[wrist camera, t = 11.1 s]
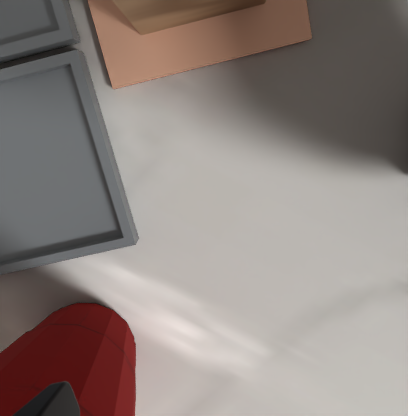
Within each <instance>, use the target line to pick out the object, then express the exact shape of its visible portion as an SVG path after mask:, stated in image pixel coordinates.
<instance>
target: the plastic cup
mask: <svg viewBox="0 0 408 416" xmlns="http://www.w3.org/2000/svg"><path fill="white" fill-rule="evenodd" d="M135 366H136V344H135V342H134V336H133V334H132V332H131V330H130V328H129V326H128V324H127V322H126V321H125V320H124V319H122V318H121V317H120V316H119V315H118V314H117V313H116V312H115V311H114V310H111V309H109V308H106V307H104V306H101V305H99V304H96V303H75V304H72V305H69V306H67V307H64V308H61V309H59V310H58V311H55V312H53V313H52V314H51V315H49V316H48V317H47V318H46V319H45V320H43V321H42V322H41V323H40V324H39V325H37V326H36V327H35V328H34V329H33V330H31V331H28V332H26V333H25V334H23V335H22V336H21V337H20V338H18V339H17V340H16V341H15V342H14V343H12V344H11V345H10V346H9V347H7V348H6V349H5V350H4V351H2V352H1V353H0V416H12V415H13V414H15V413H16V412H17V411H18V410H20V409H21V408H22V407H23V406H24V405H26V404H27V403H28V402H29V401H30V400H32V399H33V398H34V397H35V396H37V395H38V394H39V393H40V392H41V391H43V390H44V389H45V388H46V387H47V386H49V385H50V384H53V383H57V382H62V381H67V382H69V383H70V385H71V387H72V390H73V392H74V395H75V397H76V400H77V403H78V405H79V408H80V416H135V401H136V383H135Z"/></svg>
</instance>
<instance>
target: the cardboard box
mask: <svg viewBox="0 0 408 416" xmlns="http://www.w3.org/2000/svg"><path fill="white" fill-rule="evenodd" d="M112 1H113V2H114V3H115V4H116V6H117V7H118V8H119V9H120V10H121V12H122V13H123V14H124V15H125V16H126V18H127V19H128V20H129V21H130V22H131V24H132V25H133V26H134V27H135V28H136V30H137V31H138V32H139V33H140V34H141V35H145V34H149V33H153V32H157V31H161V30H165V29H168V28H172V27H176V26H180V25H184V24H188V23H192V22H196V21H199V20H203V19H207V18H211V17H215V16H219V15H223V14H227V13H230V12H234V11H238V10H242V9H246V8H250V7H254V6H258V5H261V4H264V3H265V2H266V0H112Z"/></svg>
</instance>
